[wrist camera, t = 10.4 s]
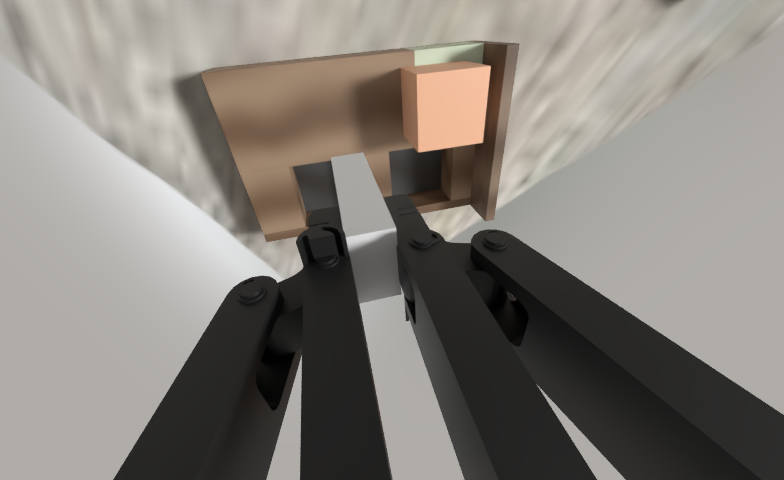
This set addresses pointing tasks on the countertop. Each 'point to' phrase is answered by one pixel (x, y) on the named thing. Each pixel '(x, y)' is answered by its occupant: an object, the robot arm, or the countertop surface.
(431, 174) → the box
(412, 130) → the block
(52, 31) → the countertop surface
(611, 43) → the countertop surface
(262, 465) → the robot arm
